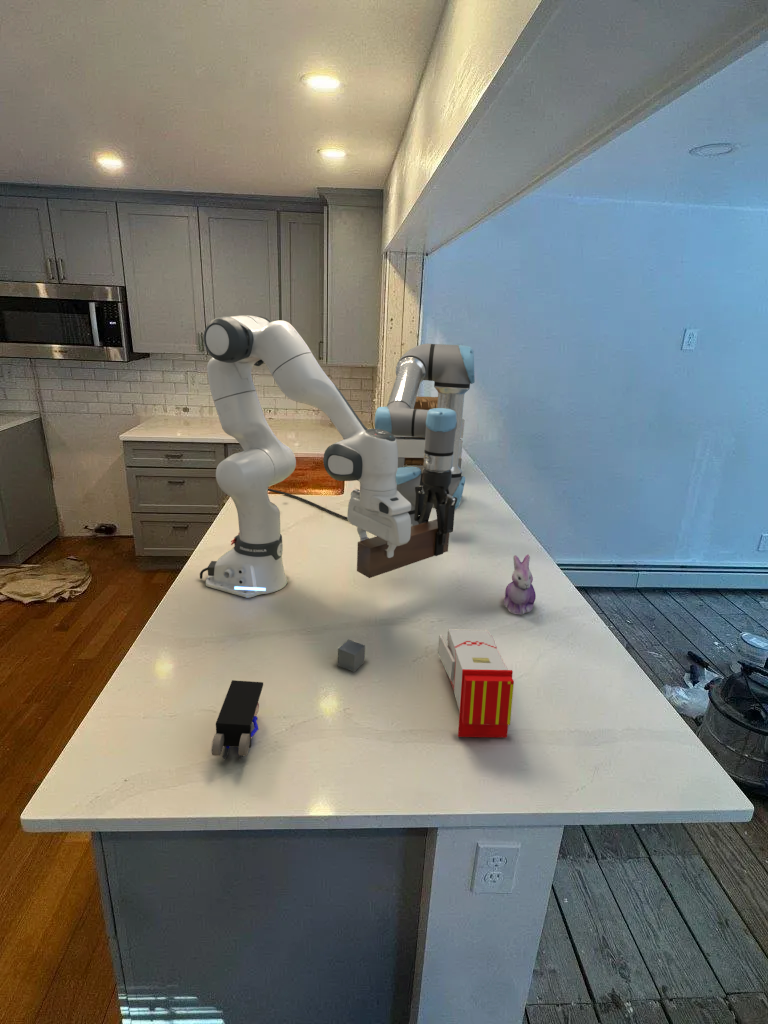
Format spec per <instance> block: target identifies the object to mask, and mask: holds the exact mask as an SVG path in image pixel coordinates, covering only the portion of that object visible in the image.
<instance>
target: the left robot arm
mask: <svg viewBox="0 0 768 1024" xmlns="http://www.w3.org/2000/svg"><path fill="white" fill-rule="evenodd" d="M203 343H204V347H205V350H206V351H207V353H208V354H209V356H210V357H211V358H210V359H209V360H208V362H207V366H206V371H207V380H208V385H209V390H210V393H211V397H212V401H213V403H214V407H215V411H216V413H217V416H218V420H219V423H220V426H221V428H222V430H223V432H224V433H225V434H227V436H230V437H232V438H233V439H235V440H236V441H237V442H238V444H239V445H240V446H241V448H242V451H239V452H235V453H233V454H231V455H229V456H227V457H225V458H224V459H223V460H222V461H220V462H219V463H218V464H217V466H216V469H215V480H216V484H217V485H218V487H219V489H220V490H221V491H222V492H223V493H224V494H225V495H226V496H229V497H230V498H231V500H232V502H234V505H235V508H236V509H235V510H236V512H237V519H238V533H237V535H236V536H234V537H233V539H232V540H231V541H230V546H233V545H234V546H233V547H232V548H231V549H229V550H228V551H226V552H225V553H224V554H222V555H221V556H220V557H219V558H218V559H217V560H211V561H210V562H209V564H208V566H207V567H205V568H203V569H201V571H200V573H199V580H202V579H203V574H204V573H205V572H207V577H206V579H205V586H206V587H208V588H212V589H215V590H218V591H221V592H224V593H225V592H226V593H228V594H232V595H235V596H239V597H242V598H246V599H250V598H253V597H256V596H259V595H267V594H271V593H275V592H277V591H279V590H282V589H284V588H285V587H286V585H287V583H288V578H287V575H286V572H285V567H284V562H283V550H284V549H283V548H284V546H283V545H284V544H283V535H282V534H281V510H280V508H279V507H278V506H277V505H276V503H274V502H271V500H270V497H269V491H268V489H269V487H271V486H272V487H273V486H274V485H277V484H279V483H281V482H284V481H285V480H286V479H287V478H288V477H290V476H291V475H292V474H293V473H294V471H295V469H296V467H297V459H296V456H295V453H294V451H293V450H292V449H291V448H290V447H289V446H288V445H286V444H285V443H284V442H282V441H281V440H280V439H279V438H278V437H277V435H276V434H275V432H274V431H273V430H272V428H271V427H270V425H269V423H268V421H267V419H266V417H265V414H264V411H263V408H262V406H261V402H260V399H259V396H258V393H257V390H256V386H255V384H254V381H253V377H252V369H253V367H254V366H256V367H261V366H262V365H263V364H265V365H266V367H267V368H268V369H267V370H268V371H269V373H270V374H271V376H272V378H273V380H274V382H275V384H276V385H277V386H278V388H279V390H280V391H281V392H282V393H283V394H284V395H285V397H287V398H288V400H289V399H290V400H291V401H293V402H296V403H299V404H304V405H308V406H311V407H314V408H316V409H318V410H320V411H321V412H323V413H324V414H325V415H326V416H327V418H328V419H329V420H330V422H331V423H332V424H333V426H334V427H335V429H336V430H337V432H338V433H339V435H340V436H341V437H342V440H341V439H340V440H339V441H336V442H334V443H332V444H330V445H329V446H328V447H326V449H325V451H324V453H323V457H322V458H323V459H322V460H323V461H322V463H323V467H324V469H325V472H326V473H327V474H328V476H329V477H331V479H333V480H335V481H338V482H355V481H358V482H359V488H354V489H352V491H351V493H350V498H349V501H348V505H347V516H346V517H347V519H348V520H347V521H348V523H349V524H350V525H352V526H354V527H356V531H357V534H358V535H359V541H363V540H366V539H370V537H368V534H367V533H369V534H371V535H373V536H374V537H379V538H382V539H384V540H386V541H388V542H387V545H389V547H388V549H385V550H384V552H385V554H384V555H385V556H386V557H388V558H391V557H393V556H394V550H395V548H396V546H400V545H404V544H406V543H408V541H409V540H410V535H411V518H410V515H409V513H408V511H410V510H411V503H410V502H409V501H408V500H407V499H405V498H404V497H403V496H402V495H401V494H400V493H399V491H397V483H396V473H397V470H398V448H397V441H396V439H395V437H394V435H392V434H391V433H390V432H387V431H385V430H381V429H375V428H367V427H366V426H365V425H364V423H363V422H362V420H361V419H360V417H359V416H358V415H357V413H356V412H355V410H354V409H353V407H352V406H351V405H350V403H349V402H348V400H347V398H346V397H345V396H344V394H343V393H342V392H341V390H340V389H339V388H338V387H337V386H336V384H335V383H334V382H333V381H332V379H331V378H329V376H328V375H327V374H326V372H325V371H324V370H323V368H322V367H321V365H320V364H319V361H318V360H317V359H316V357H315V356H314V354H313V352H312V350H311V349H310V347H309V346H308V344H307V343H306V341H305V340H304V339H303V337H302V336H301V334H300V333H299V332H298V331H297V329H296V328H295V327H294V326H293V325H292V324H291V323H290V322H288V321H286V320H283V319H280V320H278V319H277V320H271V319H269V318H268V317H265V316H261V315H257V316H256V315H255V316H254V315H249V314H240V315H232V316H227V315H223V316H219V317H215V318H213V319H212V320H210V321H209V322H208V323H207V325H206V326H205V328H204V331H203Z"/></svg>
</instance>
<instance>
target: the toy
mask: <svg viewBox="0 0 768 1024" xmlns="http://www.w3.org/2000/svg"><path fill="white" fill-rule="evenodd" d="M446 640H447V643H446V641H445V639H444V636H443V635H442V634H439V637H438V646H437V656H438V657H439V659H440V661H441V663H442V666H443V668H444V670H445V672H446V674H447V677H448V679H449V681H450V684H451V687H452V690H453V693H454V697H455V701H456V705H457V708H458V711H459V714H458V715H459V716H458V730H457V731H458V732H457V737H458V738H508V731H509V726H510V725H511V717H512V707H513V697H514V696H513V695H514V684H515V680H514V679H513V673H514V671H513V670H512V669H508V667H507V665H506V662H505V661H504V659H503V658H502V655H501V653H500V651H499V649H498V647H497V643H496V639H495V637H494V635H493V634H491V632H490V631H489V629H467V628H466V629H465V628H463V629H461V628H460V629H459V628H448V630H447V639H446Z"/></svg>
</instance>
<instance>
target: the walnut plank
mask: <svg viewBox="0 0 768 1024" xmlns="http://www.w3.org/2000/svg"><path fill="white" fill-rule="evenodd" d="M428 521H429V522H425V523H422V524H418V525H415V526H411V535H410V540H409V541H408V543H406V544H404V545H400V546H396V548H395V550H394V556H393V557H391V558H388V557H386V556H385V555H384V554H385V552H384V550H385V549H388V547H389V545H387V542H388V541H386V540H384V539H382V538H379V537H377V536H374V537H369V539H366V540H363V541H360V540H359V541H357V551H356V552H357V553H356V554H357V555H356V572H358V573H360V574H361V575H363V576H364V577H366V578H368V579H371V578H375V577H377V576H380V575H383V574H386V573H390V572H392V571H395V570H398V569H400V568H403V567H407V566H409V565H412V564H415V563H418V562H421V561H423V560H426V559H430V558H433V557H436V556H435V555H434V552H435V539H436V532H438V524H437V518H436V519H432V520H428ZM449 542H450V533H447V534H446V543H445V544H444V549H443V554H444V553H447V552H449V544H450V543H449Z"/></svg>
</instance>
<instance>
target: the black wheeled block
mask: <svg viewBox="0 0 768 1024" xmlns="http://www.w3.org/2000/svg"><path fill="white" fill-rule="evenodd" d="M263 687H264V682H262V681H249V680H235V679H232V680H231V682H230V684H229V686H228V690H227V692H226V694H225V698H224V700H223V703H222V706H221V708H220V711H219V713H218V715H217V718H216V722H215V734H214V735H213V736H214V737H213V740H212V744H211V756H215V757H221V755H222V758H223V760H226V759H228V756H229V752H230V748H238V751H237V752H238V758H239V760H240V761H241V760H242V759H243V758H244V756H245V757H246V756H247V755H248V753H249V750H250V748H251V746H252V738H253V737H254V735H255V734H256V733H257V732H258V731H259V726H258V725H259V724H258V722H257V721H258V717H257V715H258V713H259V711H260V703H259V702H260V701H259V700H260V697H261V693H262V690H263ZM252 725H253V729H252ZM223 749H224V750H223Z"/></svg>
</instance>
